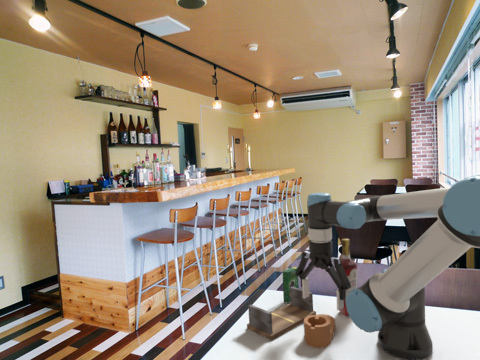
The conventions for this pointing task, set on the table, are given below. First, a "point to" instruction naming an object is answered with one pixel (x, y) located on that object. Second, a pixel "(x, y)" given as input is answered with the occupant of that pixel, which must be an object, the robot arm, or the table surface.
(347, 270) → the liquor
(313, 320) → the bracket
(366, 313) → the robot arm
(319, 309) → the table surface
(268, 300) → the table surface
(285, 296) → the coffee box
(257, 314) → the board
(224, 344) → the table surface
